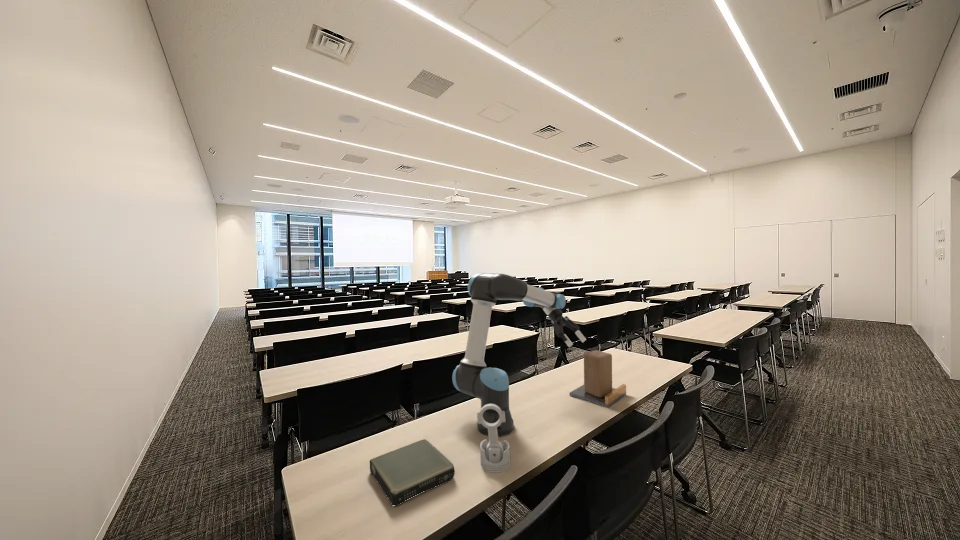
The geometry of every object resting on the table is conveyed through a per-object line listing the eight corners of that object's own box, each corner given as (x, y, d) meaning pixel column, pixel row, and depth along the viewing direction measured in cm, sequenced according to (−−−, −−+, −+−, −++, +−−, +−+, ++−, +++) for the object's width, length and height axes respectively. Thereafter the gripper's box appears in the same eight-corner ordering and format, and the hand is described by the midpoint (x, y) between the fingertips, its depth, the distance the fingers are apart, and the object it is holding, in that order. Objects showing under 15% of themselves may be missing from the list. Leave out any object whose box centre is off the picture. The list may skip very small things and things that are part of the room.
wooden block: (583, 392, 169) (582, 352, 168) (596, 387, 174) (595, 349, 173) (600, 398, 160) (599, 357, 159) (613, 393, 166) (612, 353, 165)
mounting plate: (569, 395, 168) (569, 385, 168) (588, 384, 182) (588, 375, 182) (608, 407, 154) (608, 397, 154) (626, 394, 168) (626, 384, 168)
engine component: (509, 473, 110) (509, 455, 120) (508, 411, 109) (508, 398, 119) (476, 472, 111) (479, 454, 121) (474, 411, 110) (478, 398, 120)
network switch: (422, 447, 126) (421, 434, 126) (462, 476, 109) (462, 461, 109) (362, 477, 110) (361, 462, 110) (398, 515, 93) (398, 498, 93)
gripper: (561, 313, 196) (585, 343, 186) (535, 319, 178) (560, 352, 168) (569, 305, 192) (594, 335, 182) (544, 310, 175) (569, 343, 164)
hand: (578, 343), depth 175 cm, fingers open, 13 cm apart
